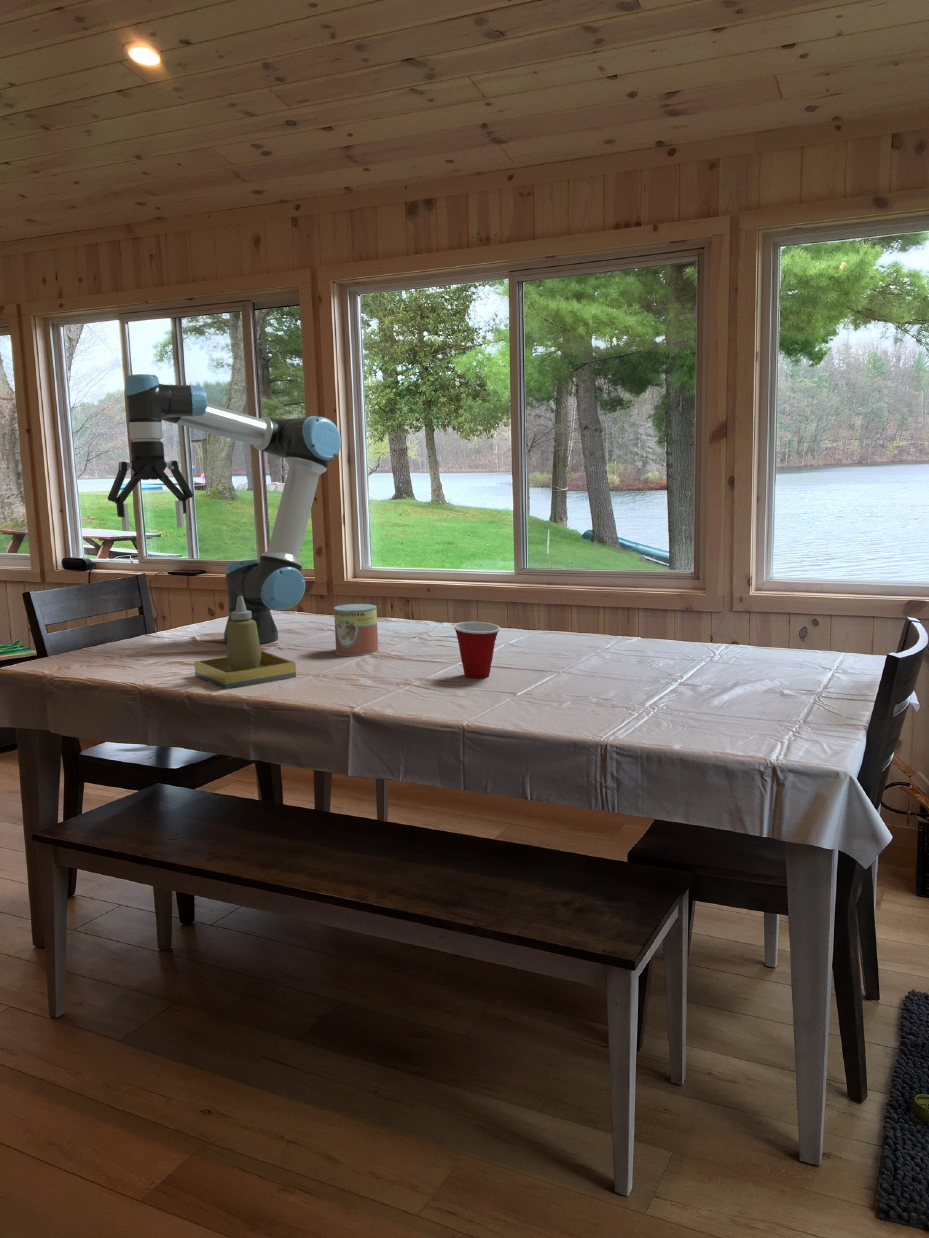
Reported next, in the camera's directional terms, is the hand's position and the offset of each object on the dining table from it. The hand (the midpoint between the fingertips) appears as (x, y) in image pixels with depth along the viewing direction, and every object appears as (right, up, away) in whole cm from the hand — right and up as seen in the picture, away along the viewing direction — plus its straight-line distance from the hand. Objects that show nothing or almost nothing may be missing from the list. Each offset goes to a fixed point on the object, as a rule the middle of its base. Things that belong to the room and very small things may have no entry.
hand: (153, 529), depth 228 cm
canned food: (+48, -31, +19) cm, 60 cm away
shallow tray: (+24, -36, -7) cm, 44 cm away
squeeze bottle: (+24, -35, -8) cm, 43 cm away
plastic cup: (+79, -35, -12) cm, 88 cm away
